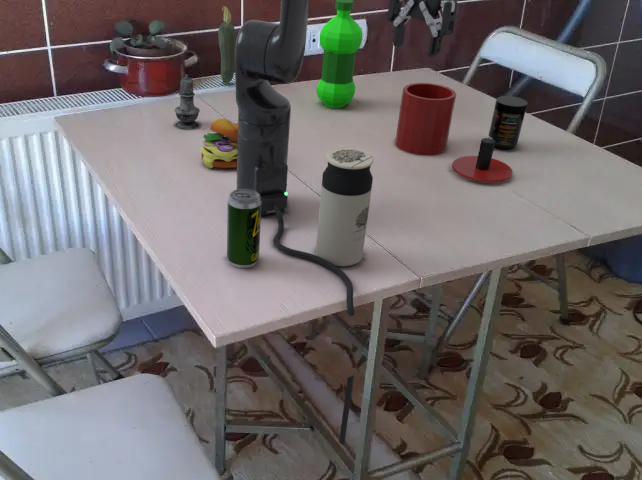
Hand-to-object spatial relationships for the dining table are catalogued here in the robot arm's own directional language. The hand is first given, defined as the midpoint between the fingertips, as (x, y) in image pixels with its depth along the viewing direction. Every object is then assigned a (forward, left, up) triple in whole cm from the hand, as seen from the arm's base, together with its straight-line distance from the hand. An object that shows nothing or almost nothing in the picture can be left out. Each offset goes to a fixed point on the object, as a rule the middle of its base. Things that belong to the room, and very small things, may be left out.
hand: (415, 51), depth 146 cm
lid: (-9, -15, -23) cm, 29 cm away
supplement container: (+2, -29, -24) cm, 38 cm away
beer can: (-25, +46, -24) cm, 58 cm away
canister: (+8, -11, -24) cm, 27 cm away
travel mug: (-29, +30, -24) cm, 49 cm away
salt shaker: (+36, +35, -24) cm, 56 cm away
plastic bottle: (+38, -5, -24) cm, 45 cm away
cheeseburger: (+14, +34, -24) cm, 44 cm away
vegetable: (+60, +16, -24) cm, 66 cm away
